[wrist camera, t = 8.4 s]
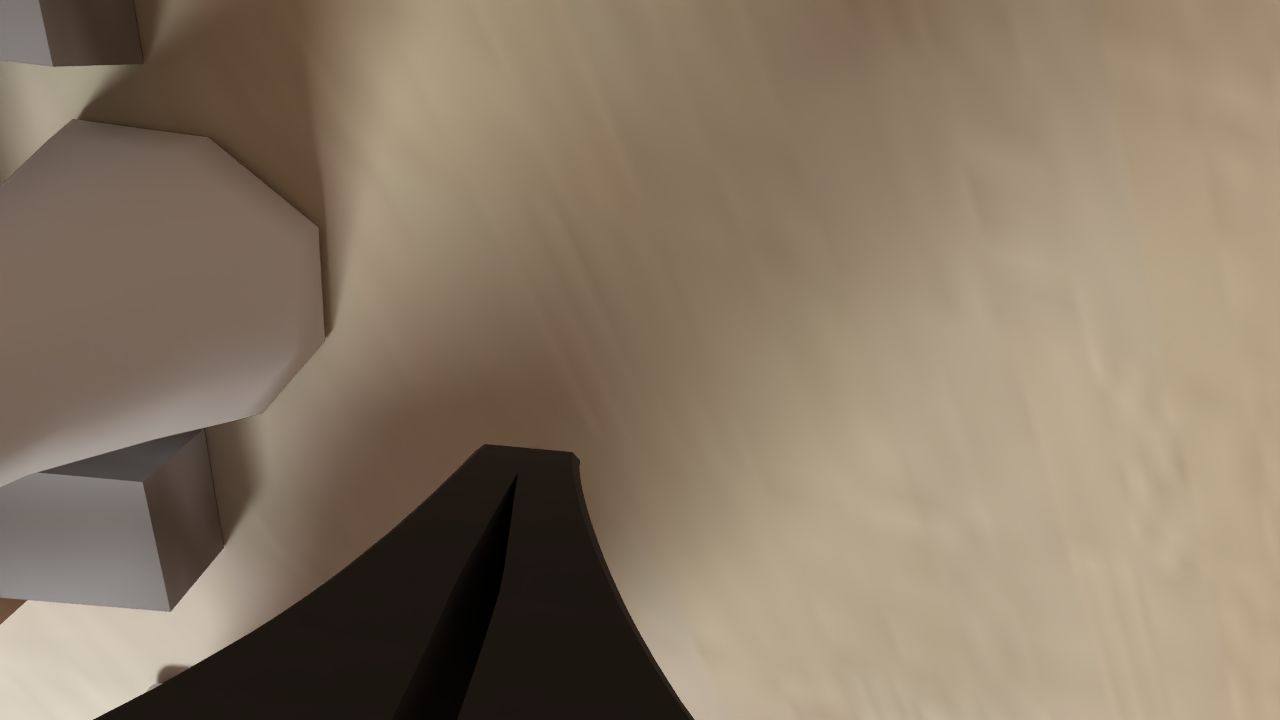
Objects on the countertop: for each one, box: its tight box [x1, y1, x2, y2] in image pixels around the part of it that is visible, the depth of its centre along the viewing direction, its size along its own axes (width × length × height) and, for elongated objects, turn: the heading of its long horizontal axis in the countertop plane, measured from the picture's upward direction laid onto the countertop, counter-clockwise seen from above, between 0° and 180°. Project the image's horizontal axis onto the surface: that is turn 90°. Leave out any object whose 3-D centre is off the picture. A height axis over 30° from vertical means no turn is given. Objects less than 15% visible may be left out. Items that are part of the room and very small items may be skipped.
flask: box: [0, 119, 325, 487], centre depth 12 cm, size 7×7×10 cm
